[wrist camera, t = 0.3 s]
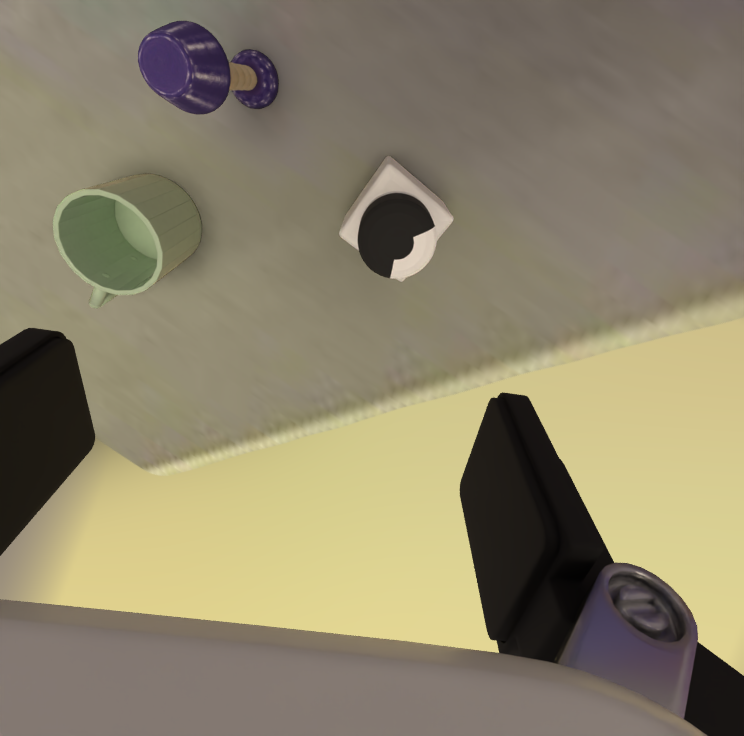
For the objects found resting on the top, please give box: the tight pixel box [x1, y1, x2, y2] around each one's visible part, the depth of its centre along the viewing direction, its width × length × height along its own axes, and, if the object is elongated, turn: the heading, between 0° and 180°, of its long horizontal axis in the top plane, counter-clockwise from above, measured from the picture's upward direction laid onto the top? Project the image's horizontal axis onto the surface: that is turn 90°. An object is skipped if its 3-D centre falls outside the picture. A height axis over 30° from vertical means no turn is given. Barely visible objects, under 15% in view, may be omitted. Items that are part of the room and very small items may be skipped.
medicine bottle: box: [339, 156, 453, 281], centre depth 37 cm, size 7×7×12 cm
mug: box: [53, 174, 202, 309], centre depth 40 cm, size 12×9×9 cm
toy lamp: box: [138, 21, 278, 114], centre depth 30 cm, size 5×5×17 cm
